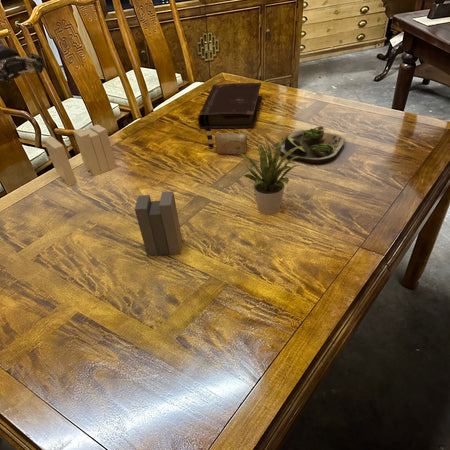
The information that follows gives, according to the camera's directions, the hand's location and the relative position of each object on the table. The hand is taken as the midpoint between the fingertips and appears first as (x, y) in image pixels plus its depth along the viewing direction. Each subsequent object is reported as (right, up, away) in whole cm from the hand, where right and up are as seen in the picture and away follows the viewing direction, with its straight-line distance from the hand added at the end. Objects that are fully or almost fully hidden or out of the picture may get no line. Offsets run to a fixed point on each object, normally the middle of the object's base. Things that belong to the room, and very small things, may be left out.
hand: (24, 73), depth 107 cm
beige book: (+7, -24, +11) cm, 27 cm away
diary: (+54, +5, +34) cm, 64 cm away
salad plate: (+75, -15, +12) cm, 78 cm away
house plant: (+63, -37, -7) cm, 73 cm away
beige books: (+16, -20, +14) cm, 29 cm away
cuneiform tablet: (+52, -15, +15) cm, 56 cm away
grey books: (+38, -46, -14) cm, 62 cm away
